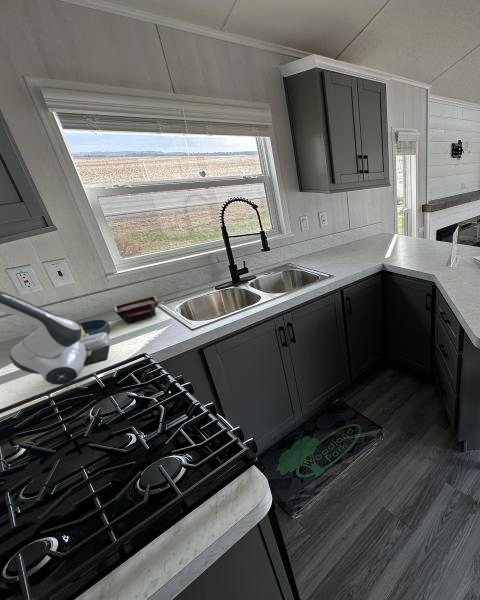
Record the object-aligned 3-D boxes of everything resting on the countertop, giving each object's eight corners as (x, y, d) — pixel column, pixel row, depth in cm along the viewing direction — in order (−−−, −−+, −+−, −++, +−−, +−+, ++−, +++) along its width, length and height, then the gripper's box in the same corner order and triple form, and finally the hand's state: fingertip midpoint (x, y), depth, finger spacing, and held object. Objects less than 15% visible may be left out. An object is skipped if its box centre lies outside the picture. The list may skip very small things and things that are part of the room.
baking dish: (123, 318, 166) (112, 302, 161) (163, 304, 175) (153, 288, 169) (125, 331, 156) (112, 315, 151) (166, 315, 165) (156, 299, 159)
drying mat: (59, 372, 123) (59, 371, 123) (65, 357, 132) (65, 356, 132) (107, 359, 130) (106, 358, 130) (109, 346, 139) (109, 344, 139)
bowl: (74, 350, 137) (69, 342, 135) (53, 342, 144) (48, 334, 142) (119, 330, 151) (116, 323, 149) (98, 324, 158) (95, 316, 156)
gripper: (103, 337, 122) (107, 323, 132) (26, 356, 111) (37, 339, 121) (110, 351, 124) (113, 336, 135) (36, 371, 114) (45, 353, 124)
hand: (76, 338), depth 128 cm, fingers closed on sponge, 4 cm apart
